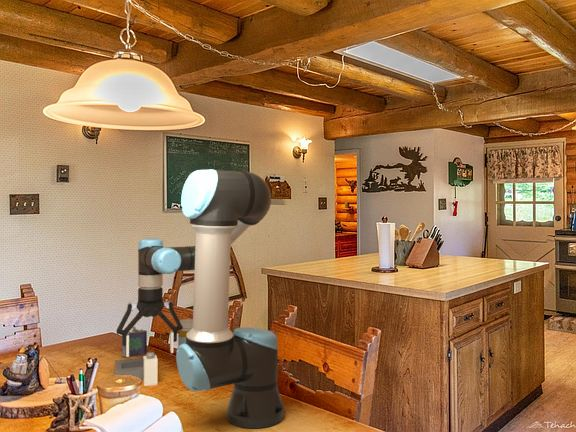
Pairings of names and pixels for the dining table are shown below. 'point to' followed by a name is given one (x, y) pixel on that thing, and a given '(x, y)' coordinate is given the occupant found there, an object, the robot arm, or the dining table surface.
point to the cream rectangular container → (150, 369)
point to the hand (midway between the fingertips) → (149, 353)
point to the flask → (136, 343)
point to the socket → (129, 367)
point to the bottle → (184, 330)
